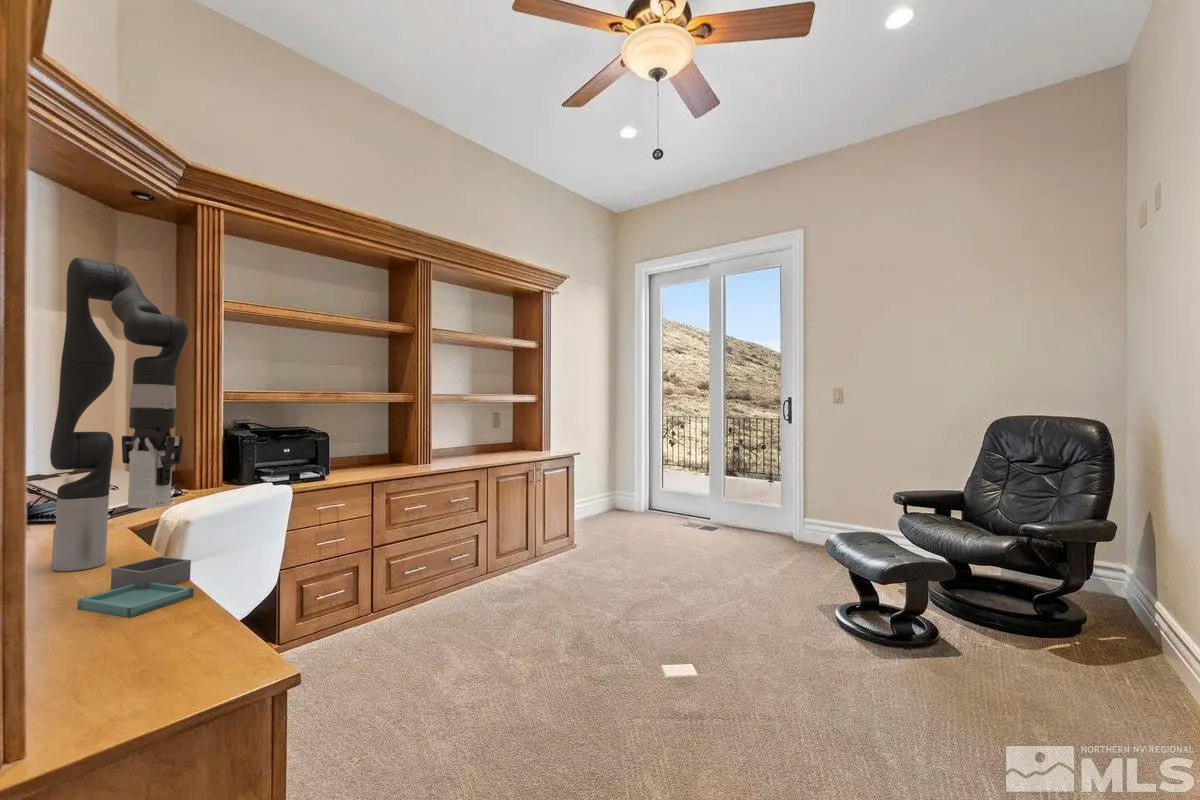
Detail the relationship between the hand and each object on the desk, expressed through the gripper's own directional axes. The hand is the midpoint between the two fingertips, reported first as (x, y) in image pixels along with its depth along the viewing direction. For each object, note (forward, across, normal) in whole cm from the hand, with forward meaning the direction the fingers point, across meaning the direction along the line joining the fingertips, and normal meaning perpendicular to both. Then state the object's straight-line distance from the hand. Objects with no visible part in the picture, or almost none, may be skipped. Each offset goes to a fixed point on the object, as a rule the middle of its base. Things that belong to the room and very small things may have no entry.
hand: (150, 484), depth 111 cm
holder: (+23, -7, +6) cm, 25 cm away
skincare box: (+5, 0, 0) cm, 5 cm away
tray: (+24, +2, -3) cm, 24 cm away
